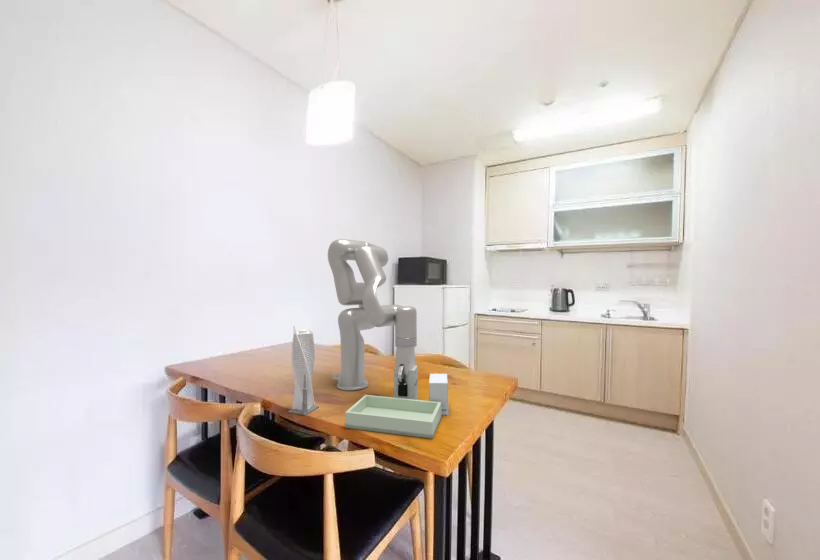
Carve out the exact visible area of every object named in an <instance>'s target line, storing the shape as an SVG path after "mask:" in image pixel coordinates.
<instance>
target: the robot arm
mask: <svg viewBox="0 0 820 560" xmlns="http://www.w3.org/2000/svg"><path fill="white" fill-rule="evenodd" d="M347 261H355V263H356V266H357V267H358V270H359V272H360V275H361V278H362V280H363V282H357V281H356V278H355V273H354V271H353V268H352V266H351V264H349V263H348V262H347ZM327 262H328V265H329V267H330V270H331V273H332V275H333V281H334V287H335V293H336V298H337V300H338V303H339V304H340V305H341V306H346V307H347V306H358V307H349V308H345V309H343V310H342V311H341V312H340V313H339V315H338V318H337V324H338V330H339V337H340V374H338V373H333V374H332V380H333V381H337V383H336V387H337V389H339V390H343V391H347V392H348V391H349V392H350V391H359V390H364V389H366V388H367V387H368V386H369V381H368V380H367V379H366V378H365V339H364V337H363V335H362V333H361V331H365V330H366V331H367V330H370V329H374V328H375V327H376V328H385V327H389V326H391V327H392V326H395V327H394V332H395V334H394V336H395V337H394V341H395V342H394V343H395V347H396V350H395V359H394V361H395V362H394V369H395V375H396V376H397V375H398V396H405V397H407V395H408V384H407V377H408V376H409V371H410V369H411V368H412V367H413V366H414V365H416V361H415V360H416V357H415V356H416V352H415V347H417V345H418V344H417V342H418V341H417V340H418V338H417V337H418V336H417V331H418V330H417V326H418V324H417V322H418V321H417V309H416V308H415V307H414V306H409V305H407V306H405V305H400V304H385V305H380V303H379V300H378V298H377V289H378V288H380V287H381V286H382V285H384V284H385V283H386V281H387V275H386V274H385V271H384V269H383V267H385V266H387V264H388V262H389V255H388V252H387V250H386V249H385V248H384V247H383V246H379V245H376V244H373V243H370V242H366V241H362V240H355V239H354V240H353V239H346V238H345V239H344V238H338V239H335V240H333V241H332V242H331V243H330V245H329V246H328V251H327ZM403 371H405V373H406V375H403ZM403 377H405V381H404V378H403Z"/></svg>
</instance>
